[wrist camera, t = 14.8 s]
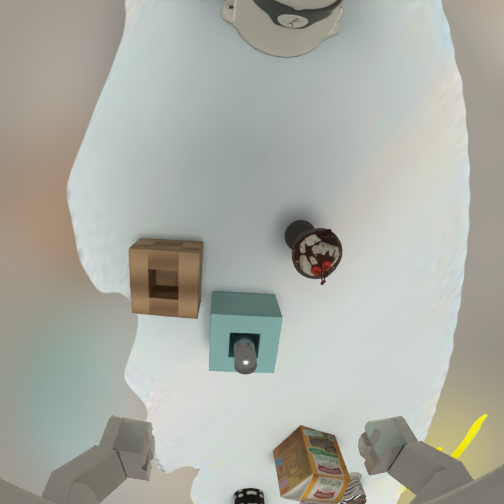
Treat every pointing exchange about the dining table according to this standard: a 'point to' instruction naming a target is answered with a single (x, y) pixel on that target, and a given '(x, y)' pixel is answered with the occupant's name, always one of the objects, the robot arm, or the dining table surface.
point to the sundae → (313, 250)
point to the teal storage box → (244, 328)
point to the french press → (354, 481)
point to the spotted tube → (249, 496)
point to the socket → (166, 277)
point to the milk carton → (311, 467)
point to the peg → (244, 353)
